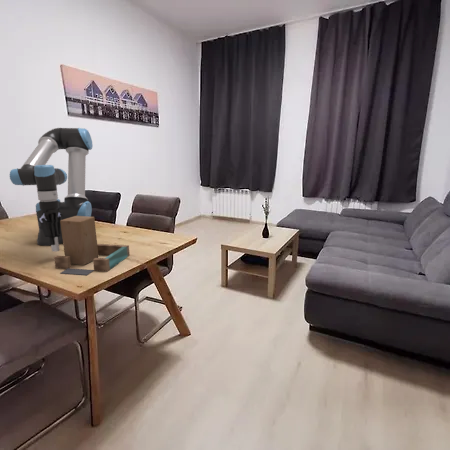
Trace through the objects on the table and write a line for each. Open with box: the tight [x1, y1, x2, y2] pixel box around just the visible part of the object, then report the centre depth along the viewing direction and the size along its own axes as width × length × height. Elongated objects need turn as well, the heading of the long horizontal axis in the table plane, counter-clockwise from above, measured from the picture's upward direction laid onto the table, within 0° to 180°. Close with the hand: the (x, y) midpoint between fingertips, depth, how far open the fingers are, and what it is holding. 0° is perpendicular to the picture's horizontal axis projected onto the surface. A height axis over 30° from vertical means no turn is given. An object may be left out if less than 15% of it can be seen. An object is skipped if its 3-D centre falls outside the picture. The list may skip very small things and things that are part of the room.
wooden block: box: [60, 216, 100, 266], centre depth 130 cm, size 10×10×20 cm
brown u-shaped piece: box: [53, 243, 130, 272], centre depth 131 cm, size 24×20×5 cm
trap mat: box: [59, 267, 94, 276], centre depth 120 cm, size 12×5×1 cm, turn 82°
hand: (55, 250), depth 133 cm, fingers closed
